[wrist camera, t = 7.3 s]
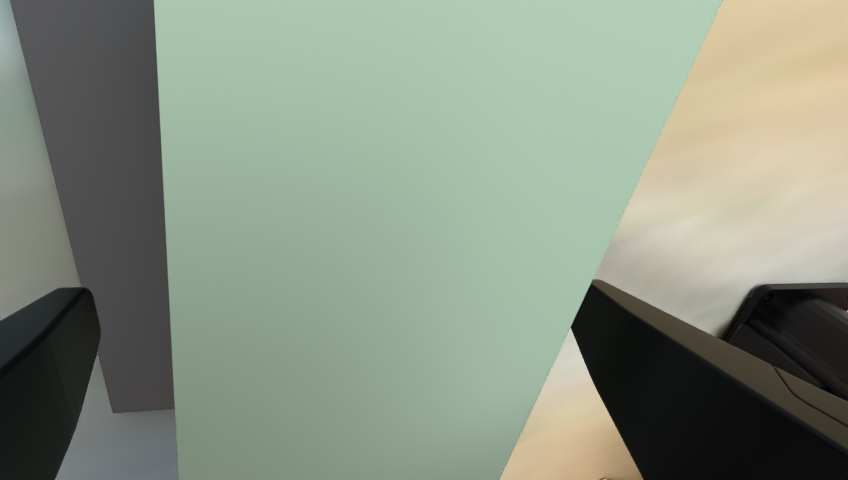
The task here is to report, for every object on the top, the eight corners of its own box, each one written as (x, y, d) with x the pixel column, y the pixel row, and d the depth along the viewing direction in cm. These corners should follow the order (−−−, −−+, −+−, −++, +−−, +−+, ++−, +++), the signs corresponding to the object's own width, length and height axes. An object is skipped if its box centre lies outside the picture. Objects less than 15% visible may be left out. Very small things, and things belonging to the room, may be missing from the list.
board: (418, 435, 15) (455, 573, 12) (211, 449, 13) (185, 619, 10) (583, -92, 8) (775, -114, 5) (212, -214, 6) (135, -377, 3)
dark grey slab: (638, -155, 12) (795, -198, 8) (484, 365, 21) (527, 456, 17) (-49, -355, 8) (-335, -609, 4) (121, 390, 17) (74, 515, 13)
